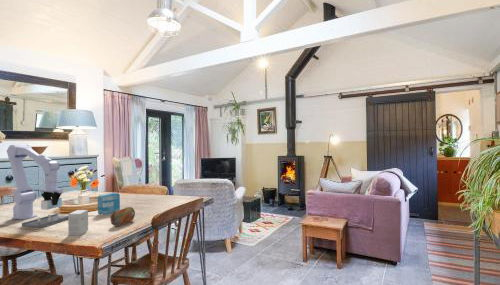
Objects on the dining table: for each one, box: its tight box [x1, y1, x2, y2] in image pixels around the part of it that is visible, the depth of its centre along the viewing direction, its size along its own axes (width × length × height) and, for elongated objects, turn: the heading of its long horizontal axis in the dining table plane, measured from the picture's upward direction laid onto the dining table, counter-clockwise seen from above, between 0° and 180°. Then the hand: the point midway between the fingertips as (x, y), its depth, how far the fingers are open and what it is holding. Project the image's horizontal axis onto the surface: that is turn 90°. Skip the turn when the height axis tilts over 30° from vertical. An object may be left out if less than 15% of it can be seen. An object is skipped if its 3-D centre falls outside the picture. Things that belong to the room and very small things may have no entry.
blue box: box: [97, 192, 121, 216], centre depth 173 cm, size 12×4×12 cm, turn 146°
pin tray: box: [21, 213, 68, 229], centre depth 154 cm, size 13×20×3 cm, turn 166°
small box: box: [67, 209, 89, 237], centre depth 135 cm, size 8×6×10 cm
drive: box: [40, 197, 63, 211], centre depth 160 cm, size 4×9×5 cm, turn 166°
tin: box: [110, 206, 136, 227], centre depth 149 cm, size 15×3×8 cm, turn 160°
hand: (51, 204), depth 160 cm, fingers closed on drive, 4 cm apart
